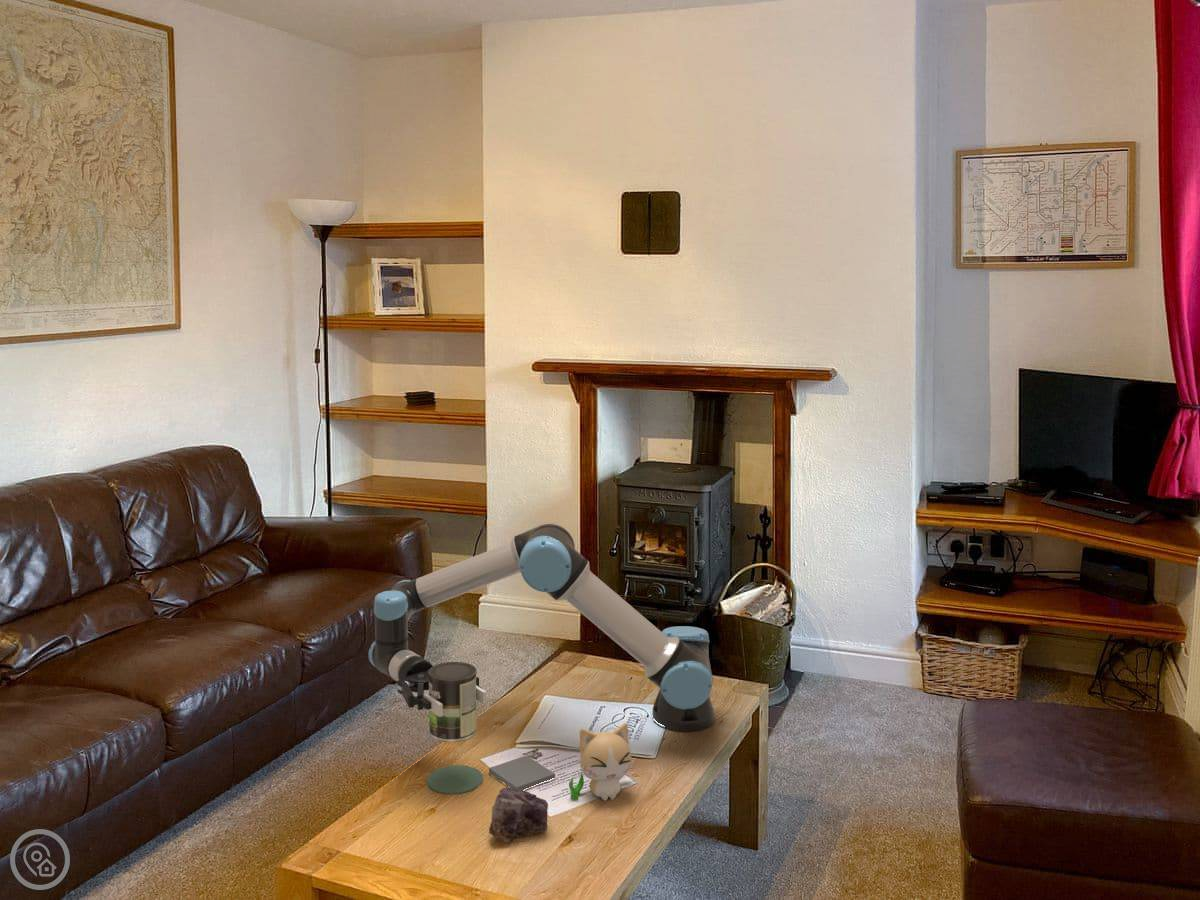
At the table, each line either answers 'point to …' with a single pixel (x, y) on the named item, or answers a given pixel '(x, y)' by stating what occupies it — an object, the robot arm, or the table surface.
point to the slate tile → (521, 773)
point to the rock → (517, 814)
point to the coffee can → (453, 701)
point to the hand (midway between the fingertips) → (463, 704)
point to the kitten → (603, 761)
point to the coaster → (454, 779)
